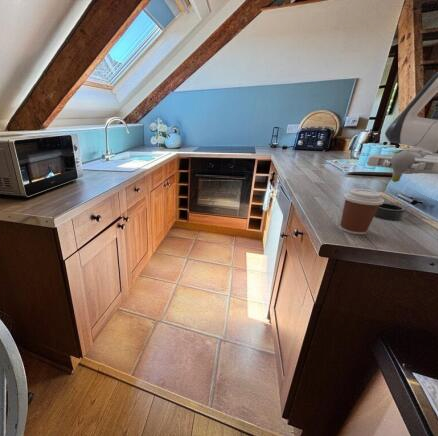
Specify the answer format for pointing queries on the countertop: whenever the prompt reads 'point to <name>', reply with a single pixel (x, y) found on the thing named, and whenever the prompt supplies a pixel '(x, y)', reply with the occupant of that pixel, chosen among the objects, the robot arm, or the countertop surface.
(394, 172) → the light bulb
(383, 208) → the dark round bowl
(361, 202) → the coffee cup
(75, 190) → the countertop surface
